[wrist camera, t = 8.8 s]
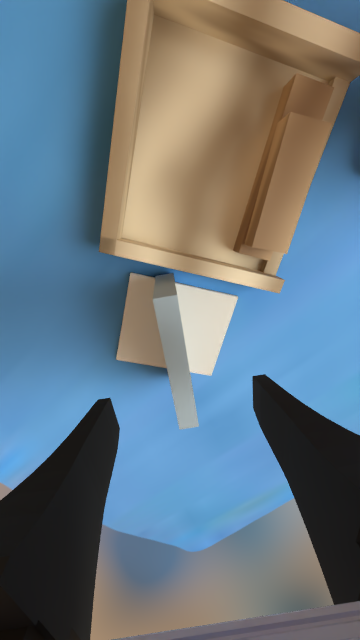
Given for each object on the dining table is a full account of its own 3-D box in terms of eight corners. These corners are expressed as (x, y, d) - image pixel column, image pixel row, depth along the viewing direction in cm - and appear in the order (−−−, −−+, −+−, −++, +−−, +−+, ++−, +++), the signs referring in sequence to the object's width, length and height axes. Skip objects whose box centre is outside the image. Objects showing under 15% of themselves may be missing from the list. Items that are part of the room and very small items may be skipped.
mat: (236, 295, 21) (238, 297, 20) (210, 373, 24) (211, 375, 23) (131, 272, 19) (130, 273, 19) (116, 357, 22) (116, 359, 22)
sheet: (173, 272, 19) (177, 294, 14) (190, 376, 23) (198, 426, 18) (155, 275, 19) (152, 298, 14) (175, 378, 23) (179, 429, 17)
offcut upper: (314, 132, 15) (331, 123, 13) (276, 250, 17) (286, 253, 16) (277, 122, 14) (290, 111, 13) (244, 244, 17) (251, 246, 15)
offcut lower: (318, 100, 15) (334, 87, 14) (261, 257, 19) (269, 260, 17) (283, 87, 15) (296, 72, 13) (232, 250, 19) (238, 253, 17)
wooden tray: (344, 71, 15) (381, 42, 13) (264, 283, 20) (279, 293, 18) (140, -9, 13) (134, -63, 11) (107, 247, 18) (98, 251, 16)
